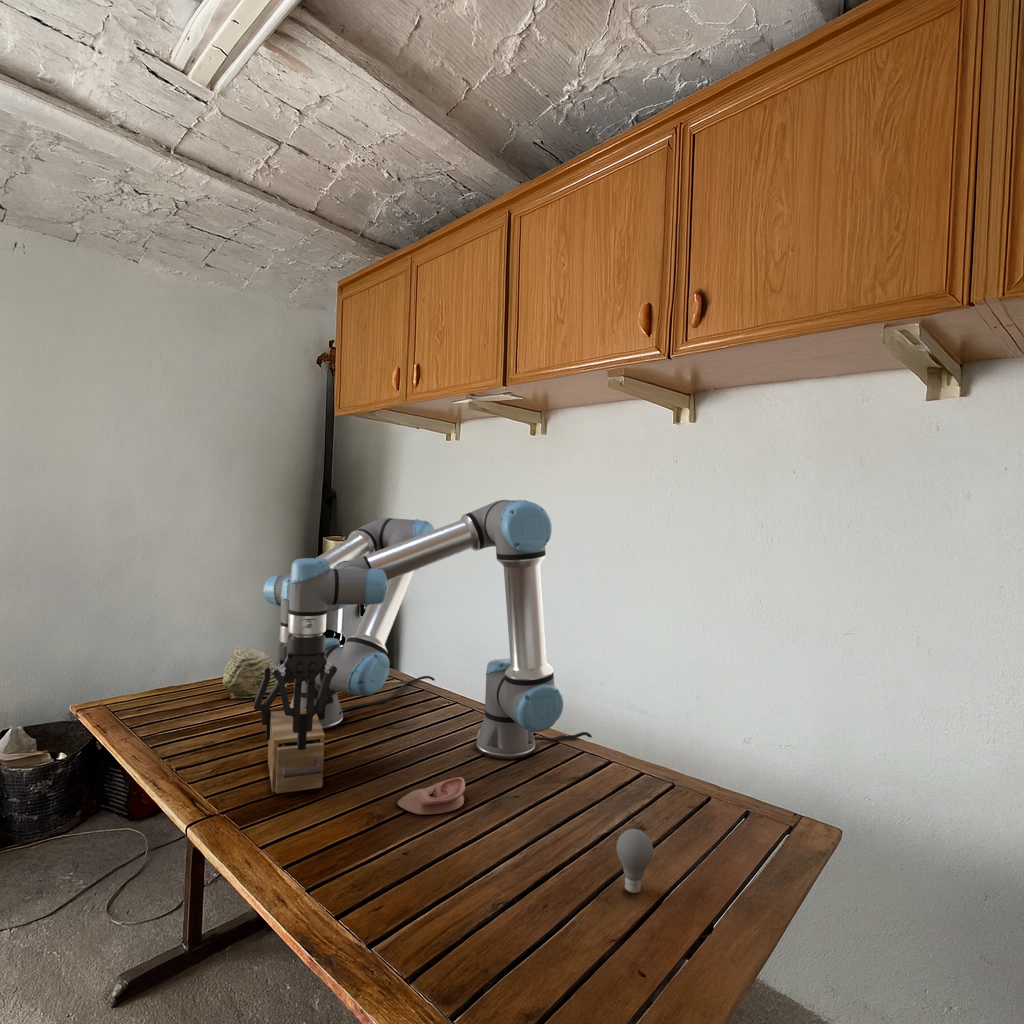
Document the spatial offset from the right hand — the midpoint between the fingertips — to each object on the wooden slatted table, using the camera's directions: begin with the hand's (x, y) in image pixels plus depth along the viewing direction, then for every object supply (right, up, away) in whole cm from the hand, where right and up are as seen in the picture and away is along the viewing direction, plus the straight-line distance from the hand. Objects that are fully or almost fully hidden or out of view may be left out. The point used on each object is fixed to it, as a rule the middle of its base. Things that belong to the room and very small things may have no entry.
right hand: (301, 747), depth 131 cm
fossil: (-37, -9, +67) cm, 77 cm away
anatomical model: (+27, -13, +2) cm, 30 cm away
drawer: (-4, -10, +8) cm, 14 cm away
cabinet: (-6, -11, +14) cm, 19 cm away
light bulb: (+64, -15, -25) cm, 70 cm away
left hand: (-8, -4, +19) cm, 21 cm away
